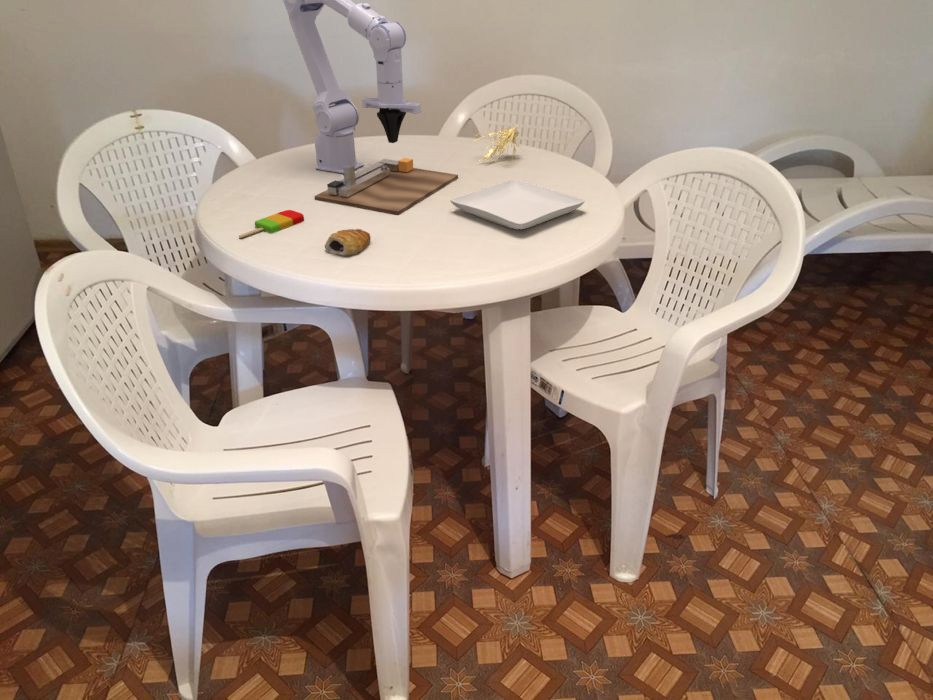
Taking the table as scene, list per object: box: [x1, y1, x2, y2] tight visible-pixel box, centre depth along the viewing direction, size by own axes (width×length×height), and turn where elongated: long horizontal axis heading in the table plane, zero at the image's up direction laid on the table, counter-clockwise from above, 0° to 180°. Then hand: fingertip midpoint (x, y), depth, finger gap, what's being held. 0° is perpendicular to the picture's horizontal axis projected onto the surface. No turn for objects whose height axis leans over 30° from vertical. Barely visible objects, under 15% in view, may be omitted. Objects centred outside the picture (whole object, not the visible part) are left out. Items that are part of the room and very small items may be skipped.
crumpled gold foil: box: [471, 125, 523, 163], centre depth 186 cm, size 11×15×9 cm
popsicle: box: [238, 209, 305, 239], centre depth 148 cm, size 6×15×2 cm, turn 142°
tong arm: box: [339, 165, 390, 197], centre depth 167 cm, size 18×2×6 cm, turn 153°
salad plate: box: [450, 178, 586, 230], centre depth 155 cm, size 21×21×3 cm
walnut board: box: [313, 167, 459, 216], centre depth 169 cm, size 28×22×1 cm
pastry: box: [324, 228, 372, 257], centre depth 139 cm, size 9×7×4 cm
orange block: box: [397, 157, 414, 172], centre depth 177 cm, size 3×2×2 cm
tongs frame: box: [326, 158, 399, 195], centre depth 171 cm, size 24×5×2 cm, turn 153°
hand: (393, 141), depth 169 cm, fingers closed
